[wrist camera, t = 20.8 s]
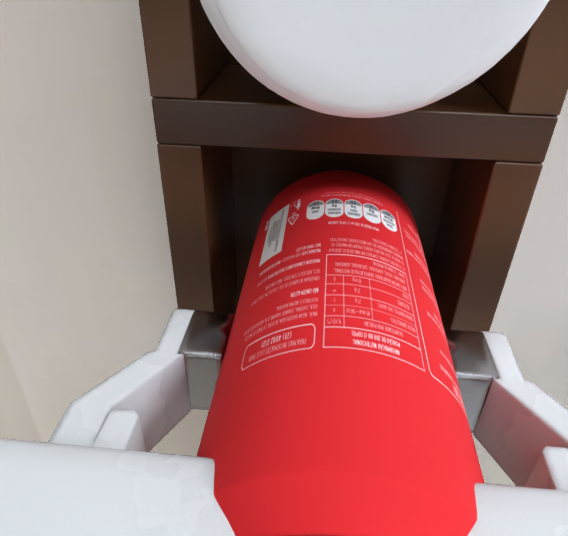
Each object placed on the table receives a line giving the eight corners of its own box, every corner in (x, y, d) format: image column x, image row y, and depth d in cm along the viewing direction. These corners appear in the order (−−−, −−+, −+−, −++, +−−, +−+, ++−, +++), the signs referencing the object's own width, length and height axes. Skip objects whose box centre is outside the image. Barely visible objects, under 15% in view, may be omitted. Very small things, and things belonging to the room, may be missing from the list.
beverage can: (445, 199, 16) (611, 619, 6) (365, 309, 19) (393, 721, 9) (300, 129, 15) (232, 487, 6) (239, 256, 18) (120, 645, 8)
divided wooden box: (441, 303, 22) (467, 401, 17) (217, 287, 23) (186, 377, 18) (597, -336, 12) (762, -508, 7) (174, -330, 12) (75, -482, 8)
